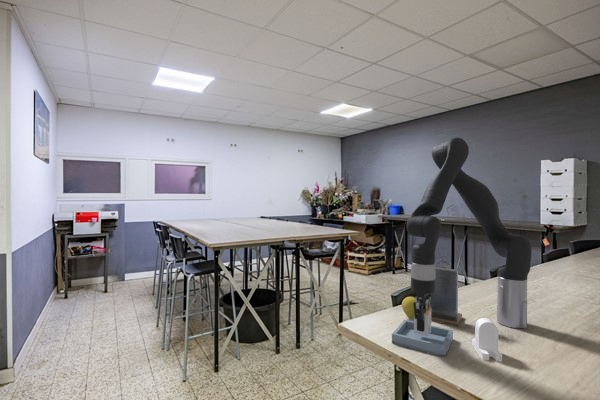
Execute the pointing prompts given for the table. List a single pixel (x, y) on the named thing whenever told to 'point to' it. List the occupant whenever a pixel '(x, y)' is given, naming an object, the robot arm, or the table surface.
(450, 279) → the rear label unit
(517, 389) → the table surface
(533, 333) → the table surface
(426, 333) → the cartridge
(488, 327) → the cable organizer
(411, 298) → the light bulb
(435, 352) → the tray
